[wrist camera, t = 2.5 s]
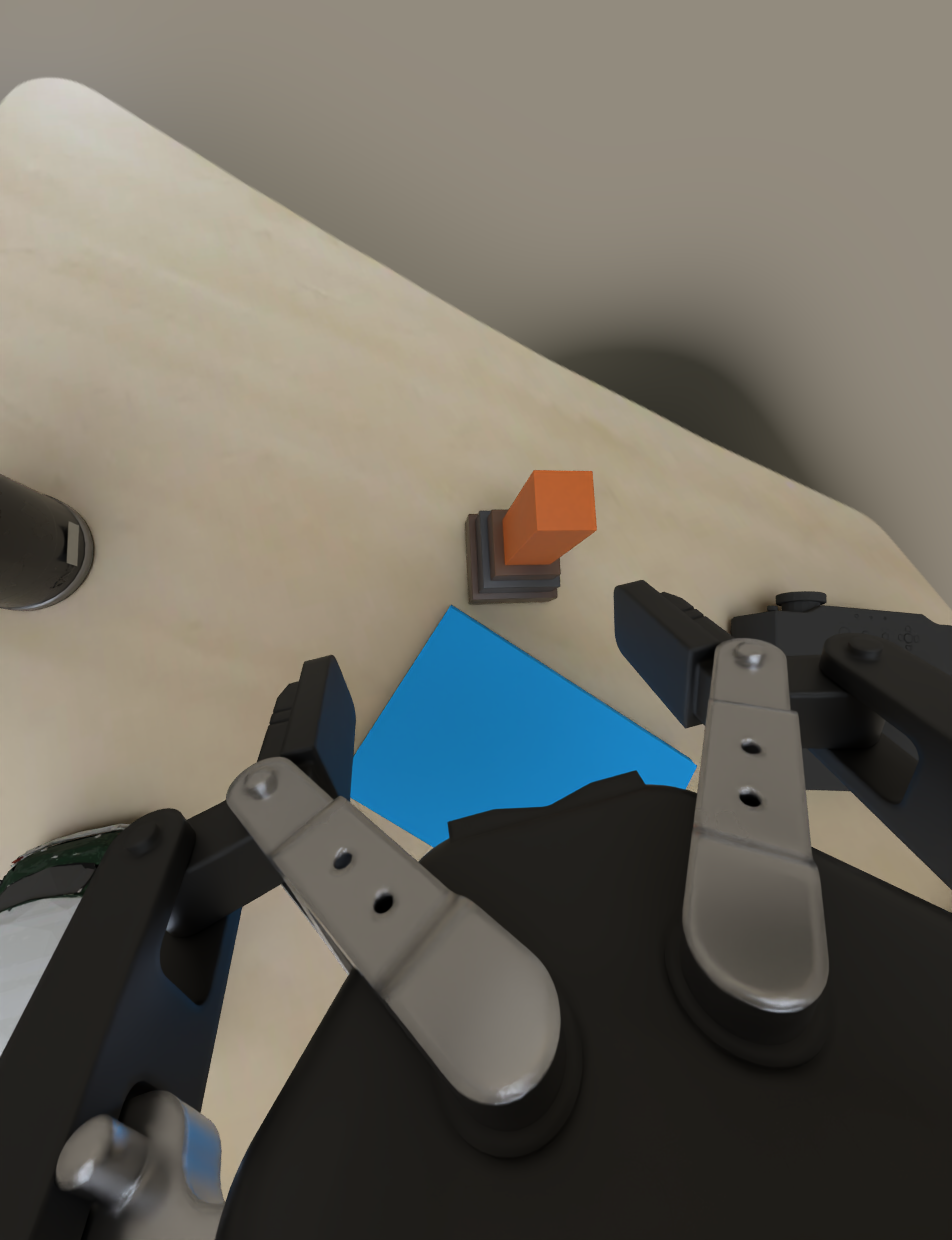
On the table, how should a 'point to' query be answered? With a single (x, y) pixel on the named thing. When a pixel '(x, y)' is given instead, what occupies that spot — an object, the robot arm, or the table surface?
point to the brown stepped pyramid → (503, 566)
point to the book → (493, 736)
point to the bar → (549, 517)
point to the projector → (812, 624)
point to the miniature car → (41, 912)
